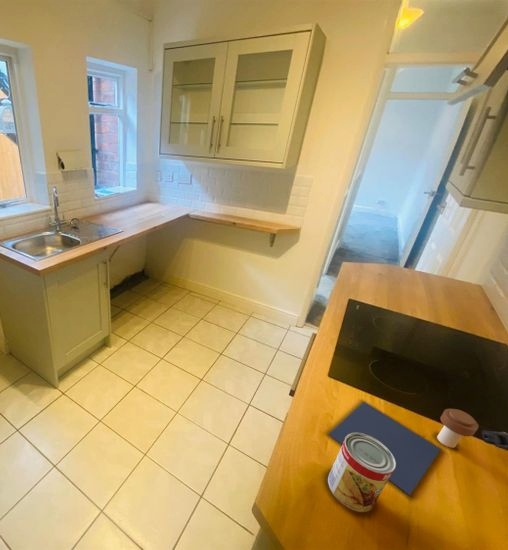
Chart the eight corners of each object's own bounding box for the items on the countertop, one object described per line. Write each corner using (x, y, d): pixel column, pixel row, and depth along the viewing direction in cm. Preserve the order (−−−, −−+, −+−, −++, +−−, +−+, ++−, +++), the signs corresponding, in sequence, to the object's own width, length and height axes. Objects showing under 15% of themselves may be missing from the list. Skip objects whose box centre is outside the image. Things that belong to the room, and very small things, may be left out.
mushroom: (435, 426, 75) (450, 402, 71) (465, 444, 71) (483, 419, 67) (426, 438, 72) (442, 413, 68) (458, 457, 68) (476, 431, 64)
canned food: (380, 518, 57) (404, 478, 52) (333, 504, 59) (352, 465, 53) (364, 476, 64) (385, 438, 58) (323, 466, 65) (339, 428, 60)
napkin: (363, 402, 81) (364, 401, 81) (440, 450, 69) (440, 449, 69) (328, 434, 72) (328, 433, 72) (409, 495, 60) (409, 495, 60)
